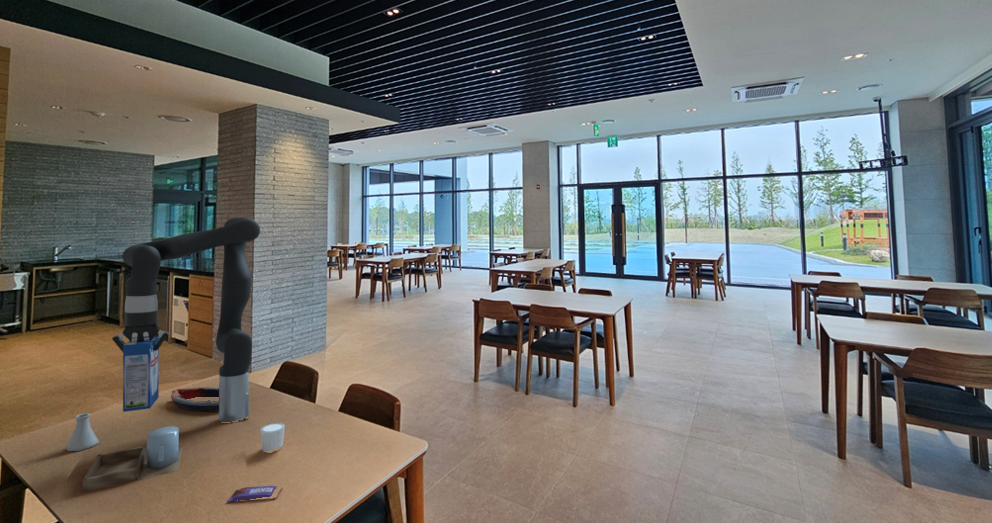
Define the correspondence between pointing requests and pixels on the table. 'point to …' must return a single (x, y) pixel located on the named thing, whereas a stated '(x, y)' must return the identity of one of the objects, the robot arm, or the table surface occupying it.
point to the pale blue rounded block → (162, 447)
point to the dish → (188, 393)
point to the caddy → (122, 468)
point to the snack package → (252, 493)
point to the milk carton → (140, 375)
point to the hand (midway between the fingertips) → (141, 365)
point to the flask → (82, 434)
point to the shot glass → (272, 436)
